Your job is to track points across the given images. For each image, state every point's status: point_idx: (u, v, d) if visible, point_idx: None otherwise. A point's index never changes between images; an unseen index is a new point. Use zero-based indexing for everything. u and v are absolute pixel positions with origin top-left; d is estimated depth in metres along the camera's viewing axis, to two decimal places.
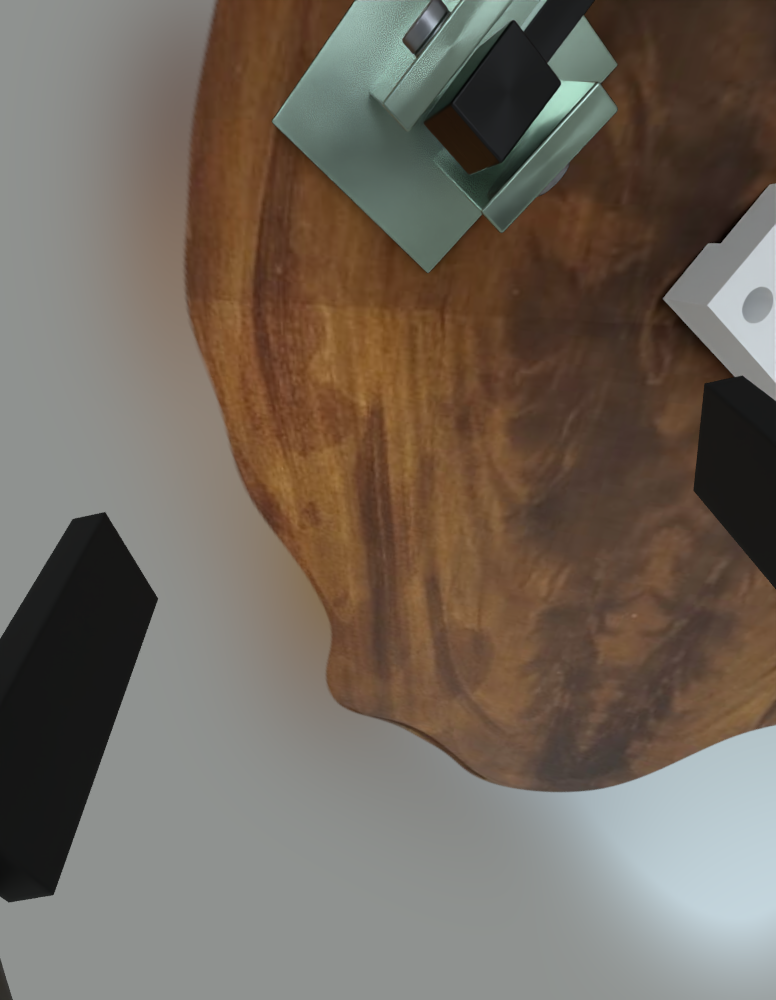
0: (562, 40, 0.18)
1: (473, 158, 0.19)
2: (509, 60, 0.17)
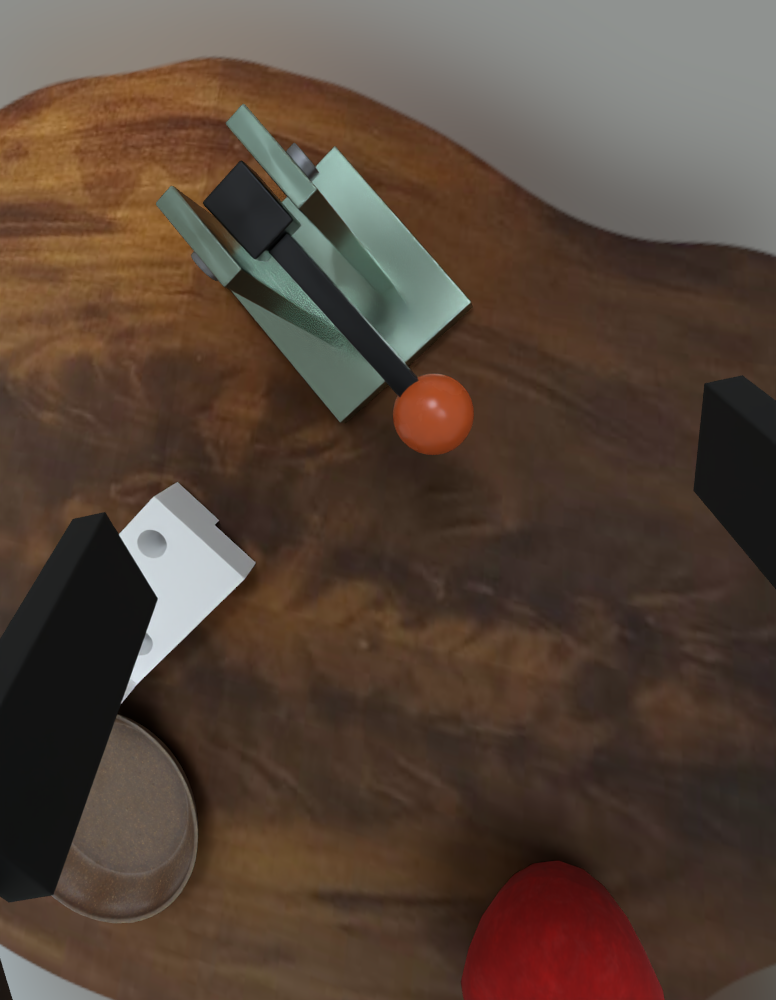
0: (288, 272, 0.25)
1: None
2: (267, 213, 0.23)
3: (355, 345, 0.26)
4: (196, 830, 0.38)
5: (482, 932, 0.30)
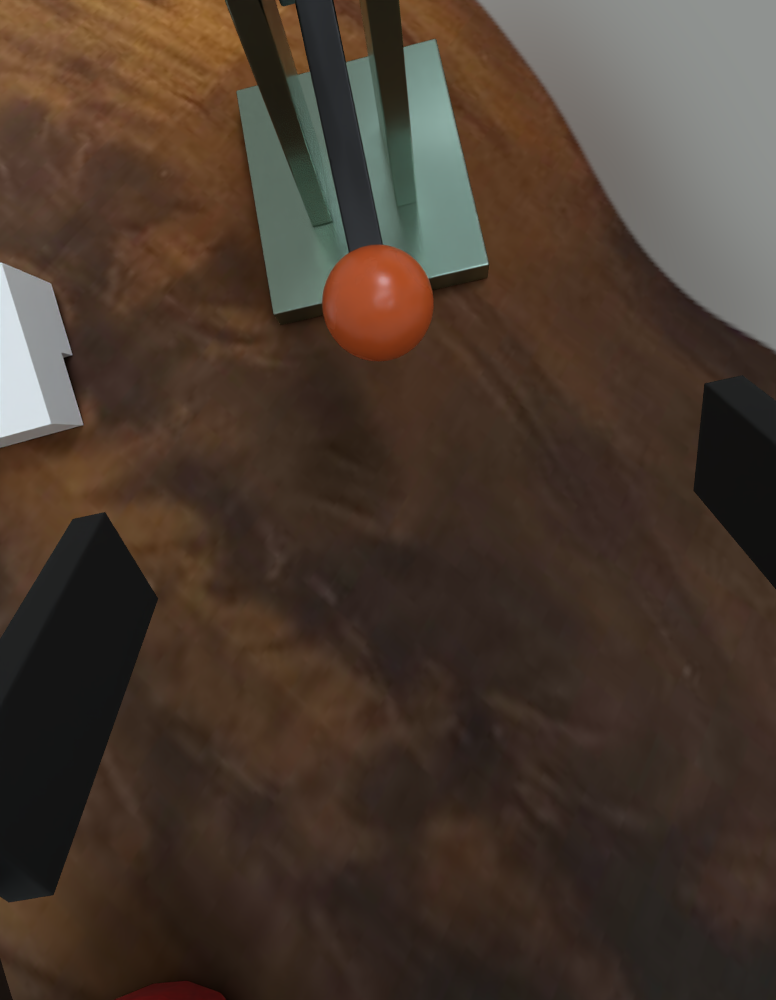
0: (298, 10, 0.18)
1: None
2: None
3: (330, 153, 0.18)
4: None
5: None
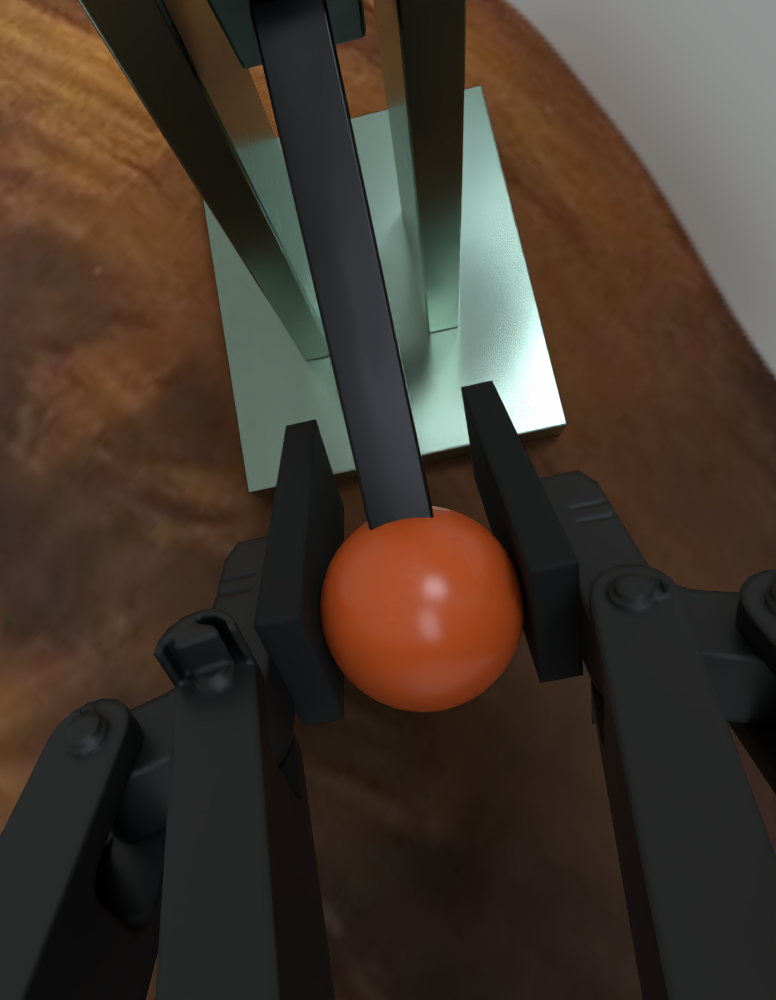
0: (271, 87, 0.09)
1: None
2: None
3: (334, 355, 0.10)
4: None
5: None
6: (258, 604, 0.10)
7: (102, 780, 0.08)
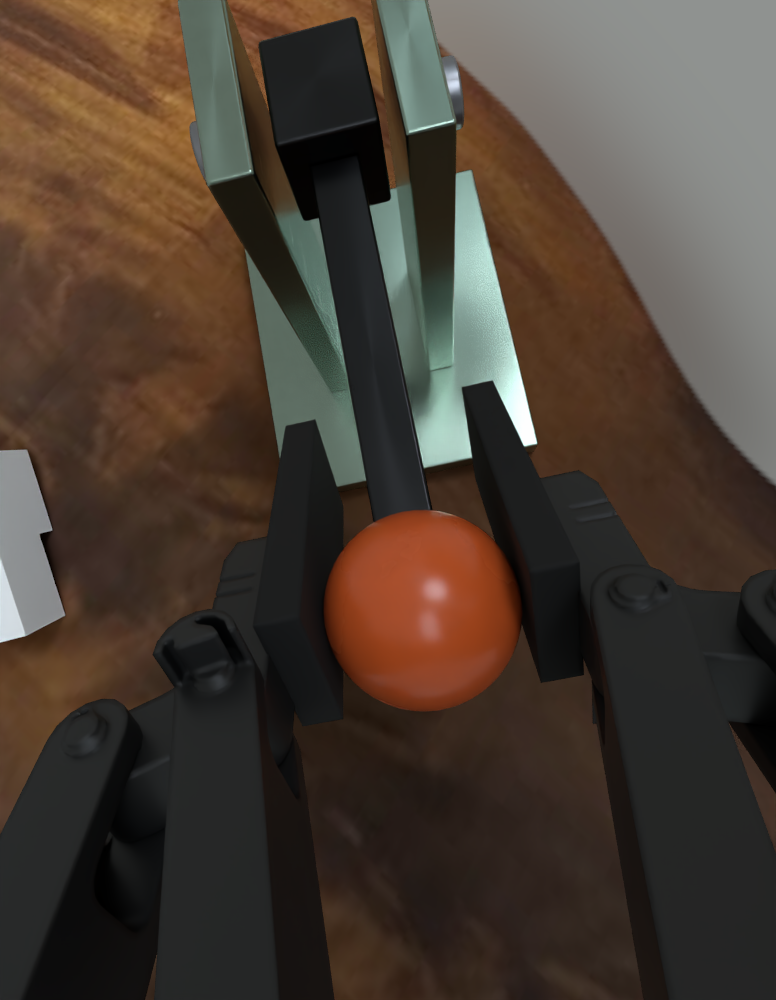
0: (319, 209, 0.13)
1: None
2: (343, 94, 0.12)
3: (351, 377, 0.12)
4: None
5: None
6: (257, 604, 0.10)
7: (101, 780, 0.08)
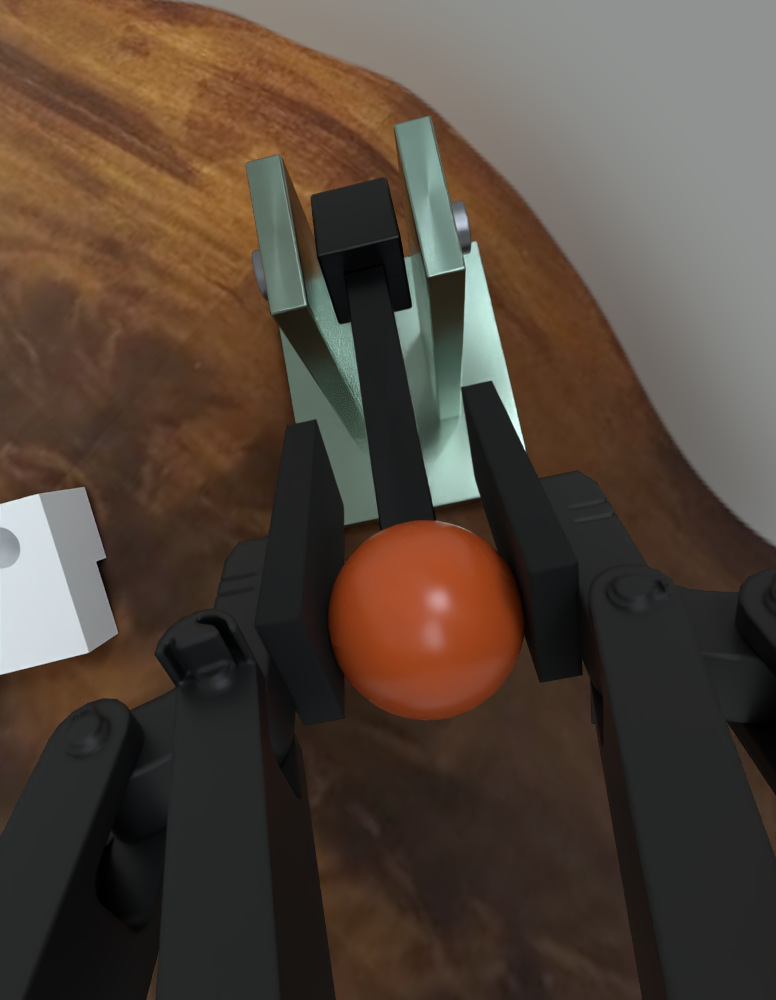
0: (349, 301, 0.15)
1: None
2: (373, 221, 0.16)
3: (368, 419, 0.13)
4: None
5: None
6: (259, 604, 0.10)
7: (102, 780, 0.08)
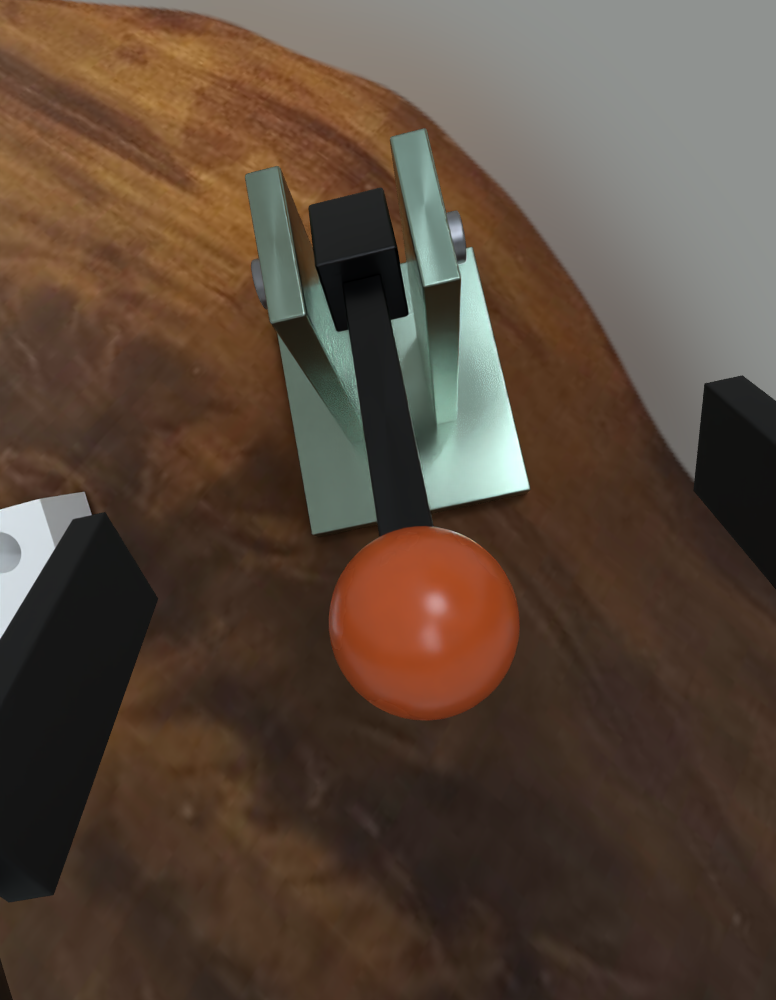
0: (347, 311, 0.16)
1: None
2: (370, 232, 0.16)
3: (366, 427, 0.14)
4: None
5: None
6: None
7: None
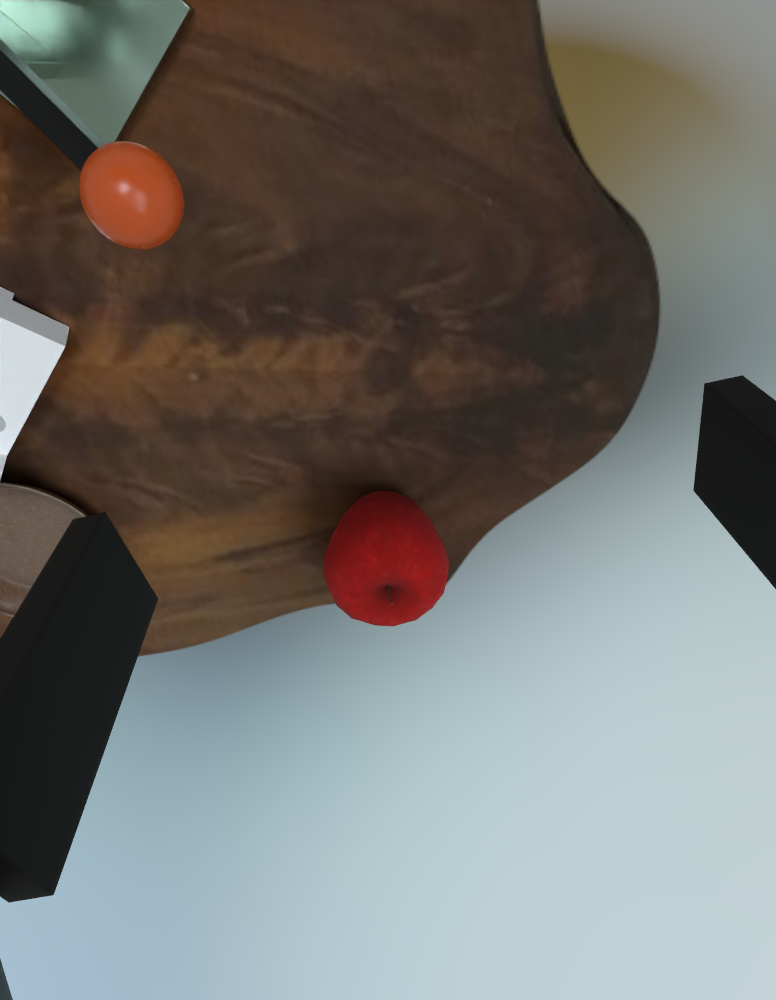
0: None
1: None
2: None
3: (26, 113, 0.22)
4: None
5: (330, 546, 0.45)
6: None
7: None
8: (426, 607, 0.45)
